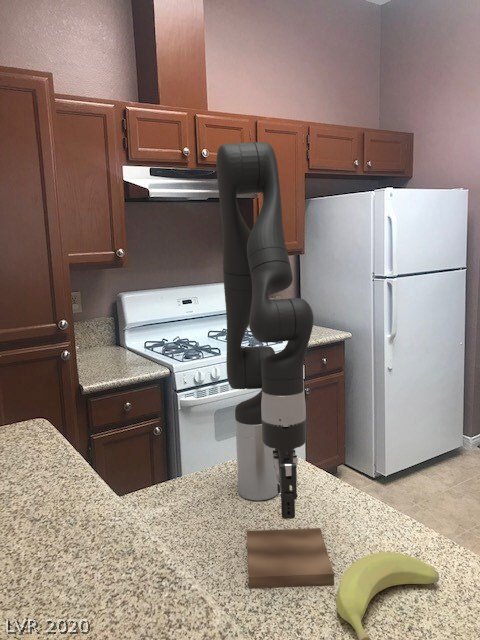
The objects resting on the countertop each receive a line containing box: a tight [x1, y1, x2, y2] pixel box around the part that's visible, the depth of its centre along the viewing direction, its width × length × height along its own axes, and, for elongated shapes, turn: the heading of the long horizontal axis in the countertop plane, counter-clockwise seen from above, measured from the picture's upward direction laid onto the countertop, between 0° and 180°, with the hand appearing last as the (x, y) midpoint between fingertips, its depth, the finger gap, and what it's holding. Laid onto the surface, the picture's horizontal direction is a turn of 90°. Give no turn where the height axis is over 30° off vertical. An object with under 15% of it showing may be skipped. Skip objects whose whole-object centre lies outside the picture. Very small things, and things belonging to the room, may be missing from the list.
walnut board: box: [246, 527, 335, 589], centre depth 93 cm, size 14×14×2 cm
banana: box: [335, 551, 440, 640], centre depth 80 cm, size 14×6×20 cm
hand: (285, 505), depth 92 cm, fingers open, 8 cm apart
